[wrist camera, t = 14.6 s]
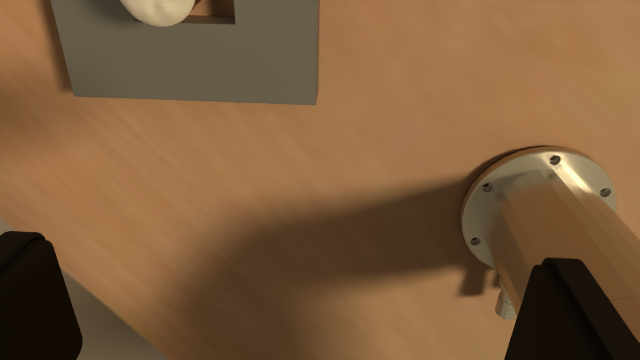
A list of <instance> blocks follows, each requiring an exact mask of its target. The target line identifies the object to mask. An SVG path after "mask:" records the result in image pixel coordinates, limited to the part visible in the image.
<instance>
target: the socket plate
mask: <svg viewBox="0 0 640 360" xmlns="http://www.w3.org/2000/svg"><path fill="white" fill-rule="evenodd" d="M50 1H51V5H52V9H53V13H54V17H55V21H56V25H57V29H58V33H59V37H60V41H61V45H62V49H63V53H64V57H65V61H66V65H67V69H68V73H69V77H70V82H71V86H72V90H73V94H74V96H80V97H107V98H134V99H161V100H188V101H215V102H242V103H269V104H296V105H316V100H317V95H318V63H319V5H320V0H234V9H235V17H230V16H196V15H188V16H187V17H186V18H185V19H184V20H182V21H181V22H179V23H177V24H175V25H171V26H166V27H158V26H153V25H149V24H146V23H144V22H142V21H140V20H138V19H136V18H135V17H134V16H133V15H131V13H130V12H129V11H128V10H127V9H126V8H125V6H124V5H123V4H122V3H121V1H120V0H50Z"/></svg>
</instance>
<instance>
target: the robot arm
mask: <svg viewBox="0 0 640 360" xmlns="http://www.w3.org/2000/svg"><path fill="white" fill-rule="evenodd" d="M552 156H553V157H552ZM486 183H487V184H486ZM616 202H617V196H616V192H615V187H614V184H613V183H612V181H611V179H610V177H609V175H608V174H607V173H606V172H605V171H604V170H603V168H602V167H601V166H600V165H599V164H597V163H596V162H595V161H594V160H593V159H591V158H590V157H588V156H586V155H584V154H583V153H581V152H579V151H575V150H572V149H568V148H564V147H552V146H547V147H535V148H530V149H526V150H522V151H518V152H516V153H514V154H511V155H509V156H507V157H504V158H503V159H501V160H499V161H498V162H496V163H494V164H493V165H491V166H490V167H489V168H488V169H486V170H485V171H484V172H483V173H482V174H481V175H480V176H479V177H478V178H477V179H476V180H475V182H474V183H473V184H472V185H471V187H470V189H469V190H468V192H467V194H466V196H465V198H464V201H463V204H462V207H461V215H460V223H461V230H462V233H463V236H464V239H465V242H466V244H467V245H468V247H469V249H470V251H471V252H472V253H473V254H474V255H475V256H476V257H477V258H478V259H479V260H480V261H482V262H483V263H484V264H486V265H487V266H489V267H492V268H494V269H496V270H497V271H498V273H499V276H500V279H499V285H500V286H501V288H502V289H501V292H500V294H499V296H498V300H497V304H496V307H495V311H496V313H497V314H498V315H499V316H500V317H502V318H504V319H509V320H511V319H515V318H516V316H517V319H516V323H515V326H514V329H513V332H512V336H511V339H510V342H509V346H508V349H507V352H506V355H505V359H504V360H640V239H639V238H638V237H637V236H636V235H635V234H634V233H633V232H632V231H631V229H630V228H629V227H628V226H627V225H626V224H625V223H624V222H623V221H622V220H621V219H620V217H619V216H618V215H617V214H616V213H615V212H616ZM81 348H82V334H81V332H80V328H79V325H78V322H77V319H76V316H75V313H74V310H73V307H72V304H71V300H70V297H69V294H68V291H67V288H66V285H65V282H64V279H63V276H62V272H61V269H60V266H59V263H58V260H57V257H56V254H55V251H54V248H53V245H52V243H51V242H50V241H47V240H45V238H44V236H43V235H42V234H41V233H37V232H18V231H9V232H5V233H3V234H2V235H1V236H0V360H76V359H77V357H78V355H79V353H80V351H81Z"/></svg>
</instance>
